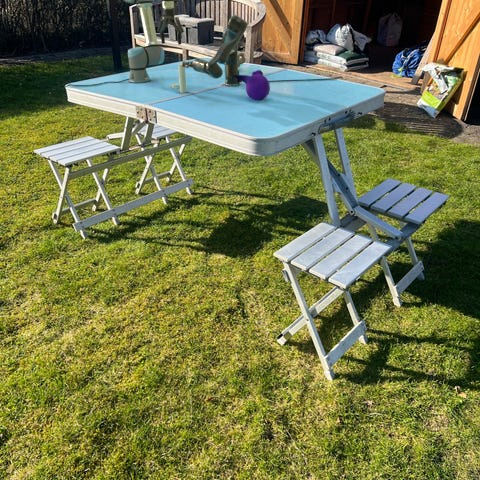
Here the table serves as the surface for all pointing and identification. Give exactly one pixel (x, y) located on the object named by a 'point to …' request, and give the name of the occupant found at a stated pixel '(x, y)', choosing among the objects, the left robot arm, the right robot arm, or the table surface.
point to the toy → (255, 85)
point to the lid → (175, 86)
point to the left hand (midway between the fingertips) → (171, 44)
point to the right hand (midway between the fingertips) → (189, 62)
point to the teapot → (241, 59)
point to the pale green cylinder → (182, 79)
